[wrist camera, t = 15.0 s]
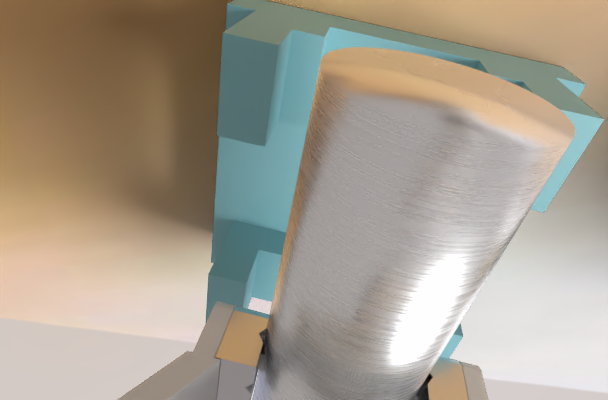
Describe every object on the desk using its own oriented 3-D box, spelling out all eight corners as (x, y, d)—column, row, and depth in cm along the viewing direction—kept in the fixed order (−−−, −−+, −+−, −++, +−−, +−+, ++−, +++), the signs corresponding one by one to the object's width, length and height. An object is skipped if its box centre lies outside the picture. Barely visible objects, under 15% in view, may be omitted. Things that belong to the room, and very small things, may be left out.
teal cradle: (243, -5, 15) (185, 23, 11) (563, 67, 15) (643, 128, 10) (223, 237, 22) (183, 317, 17) (441, 290, 22) (458, 386, 17)
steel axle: (331, 34, 8) (304, 101, 5) (525, 77, 8) (632, 175, 5) (254, 403, 16) (224, 524, 13) (353, 426, 16) (348, 555, 13)
